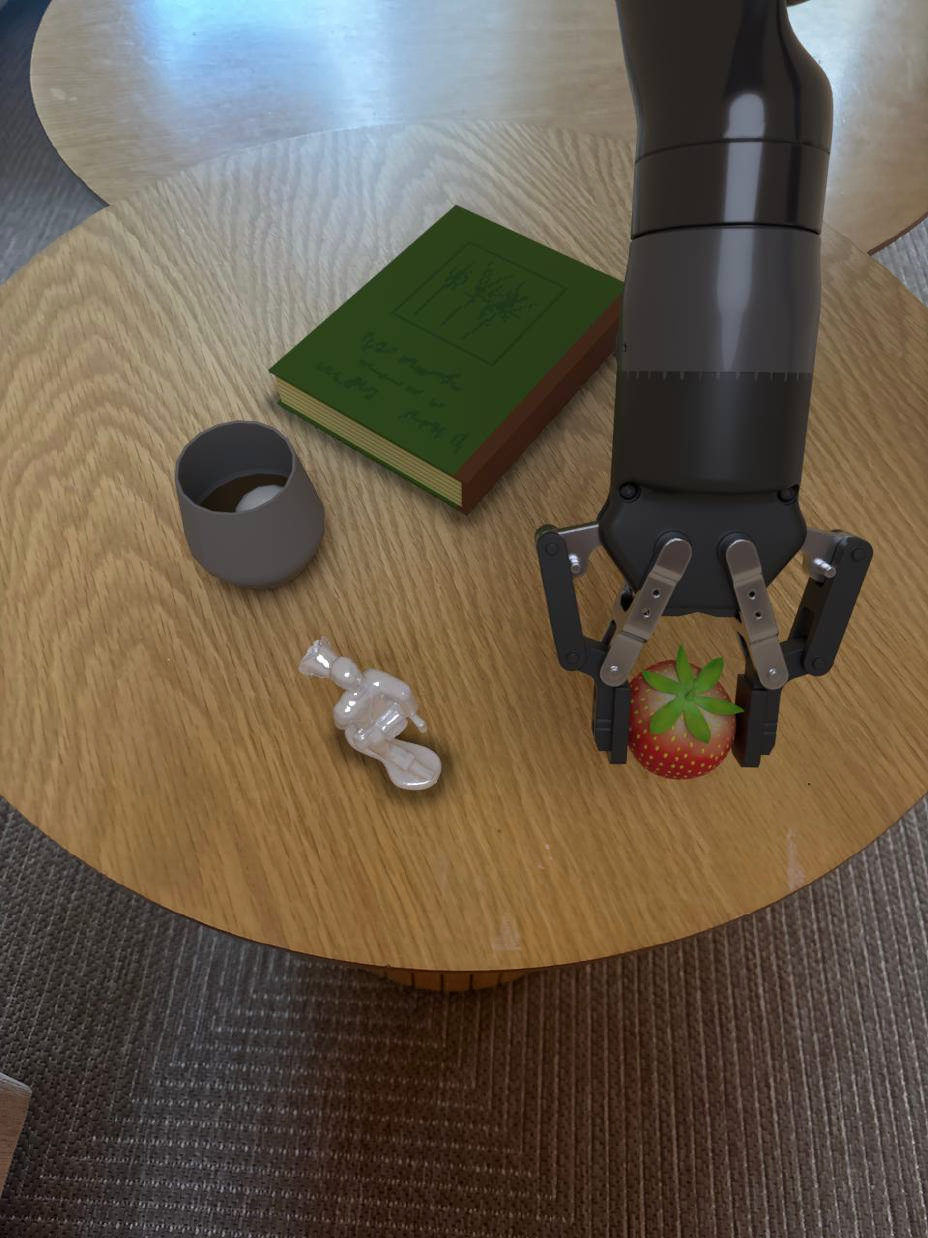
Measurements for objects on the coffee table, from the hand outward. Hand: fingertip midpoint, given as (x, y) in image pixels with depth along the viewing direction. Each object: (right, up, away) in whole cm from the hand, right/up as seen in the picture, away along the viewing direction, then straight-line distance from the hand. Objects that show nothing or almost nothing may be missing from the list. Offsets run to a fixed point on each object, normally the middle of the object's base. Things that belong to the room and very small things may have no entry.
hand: (680, 757), depth 40 cm
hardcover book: (-10, +27, +34) cm, 45 cm away
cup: (-24, +11, +24) cm, 36 cm away
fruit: (0, -1, +5) cm, 5 cm away
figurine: (-15, -2, +17) cm, 23 cm away
